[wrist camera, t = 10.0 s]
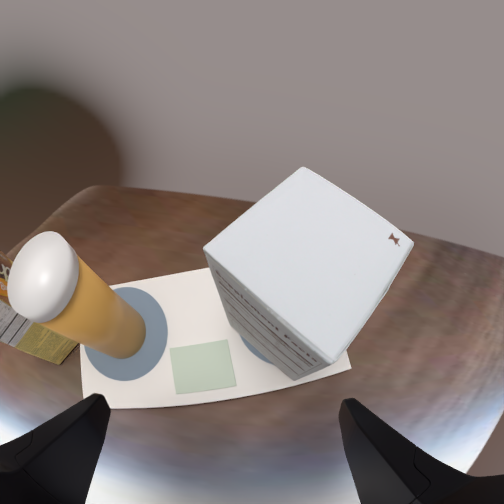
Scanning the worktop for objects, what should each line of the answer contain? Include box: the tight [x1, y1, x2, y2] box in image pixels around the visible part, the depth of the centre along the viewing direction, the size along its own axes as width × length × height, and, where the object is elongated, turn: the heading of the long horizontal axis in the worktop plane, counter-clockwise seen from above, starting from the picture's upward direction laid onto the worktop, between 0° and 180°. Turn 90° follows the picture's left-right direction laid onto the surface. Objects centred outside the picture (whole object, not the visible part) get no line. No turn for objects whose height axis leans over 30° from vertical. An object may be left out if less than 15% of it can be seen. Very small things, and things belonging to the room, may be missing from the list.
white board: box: [80, 268, 351, 409], centre depth 23 cm, size 12×24×1 cm, turn 102°
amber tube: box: [7, 231, 146, 359], centre depth 16 cm, size 5×5×12 cm
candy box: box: [0, 251, 78, 365], centre depth 16 cm, size 9×4×15 cm, turn 52°
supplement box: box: [203, 167, 414, 381], centre depth 17 cm, size 7×7×13 cm
